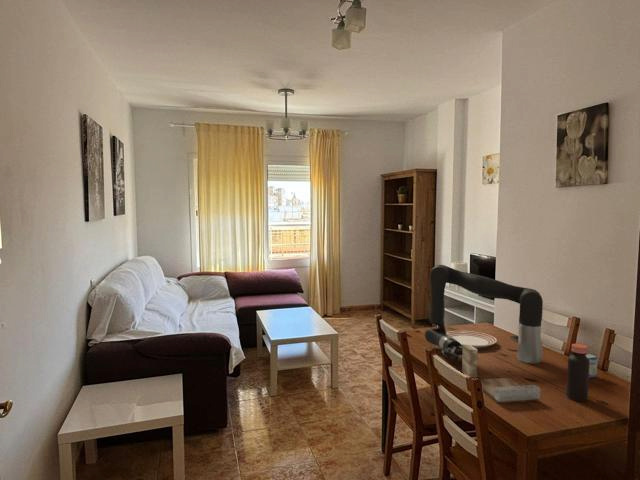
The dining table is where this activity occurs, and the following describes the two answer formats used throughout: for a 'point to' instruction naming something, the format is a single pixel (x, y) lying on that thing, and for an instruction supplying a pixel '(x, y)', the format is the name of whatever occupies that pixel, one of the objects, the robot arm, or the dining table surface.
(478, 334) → the dinner plate
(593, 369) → the medicine box
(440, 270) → the robot arm
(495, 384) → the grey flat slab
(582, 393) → the bottle
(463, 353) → the cream tall block
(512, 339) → the phone
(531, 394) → the metal rail
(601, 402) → the dining table surface
